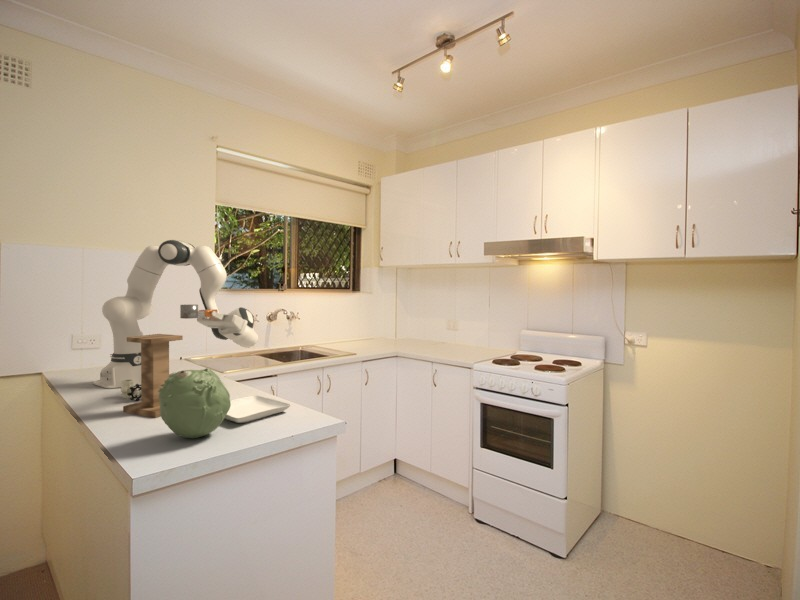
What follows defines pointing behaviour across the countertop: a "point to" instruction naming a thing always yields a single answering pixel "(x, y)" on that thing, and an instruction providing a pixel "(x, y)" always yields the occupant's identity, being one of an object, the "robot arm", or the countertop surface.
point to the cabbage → (193, 402)
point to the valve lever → (194, 312)
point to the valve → (130, 390)
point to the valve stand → (152, 372)
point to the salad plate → (254, 408)
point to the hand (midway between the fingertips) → (206, 312)
